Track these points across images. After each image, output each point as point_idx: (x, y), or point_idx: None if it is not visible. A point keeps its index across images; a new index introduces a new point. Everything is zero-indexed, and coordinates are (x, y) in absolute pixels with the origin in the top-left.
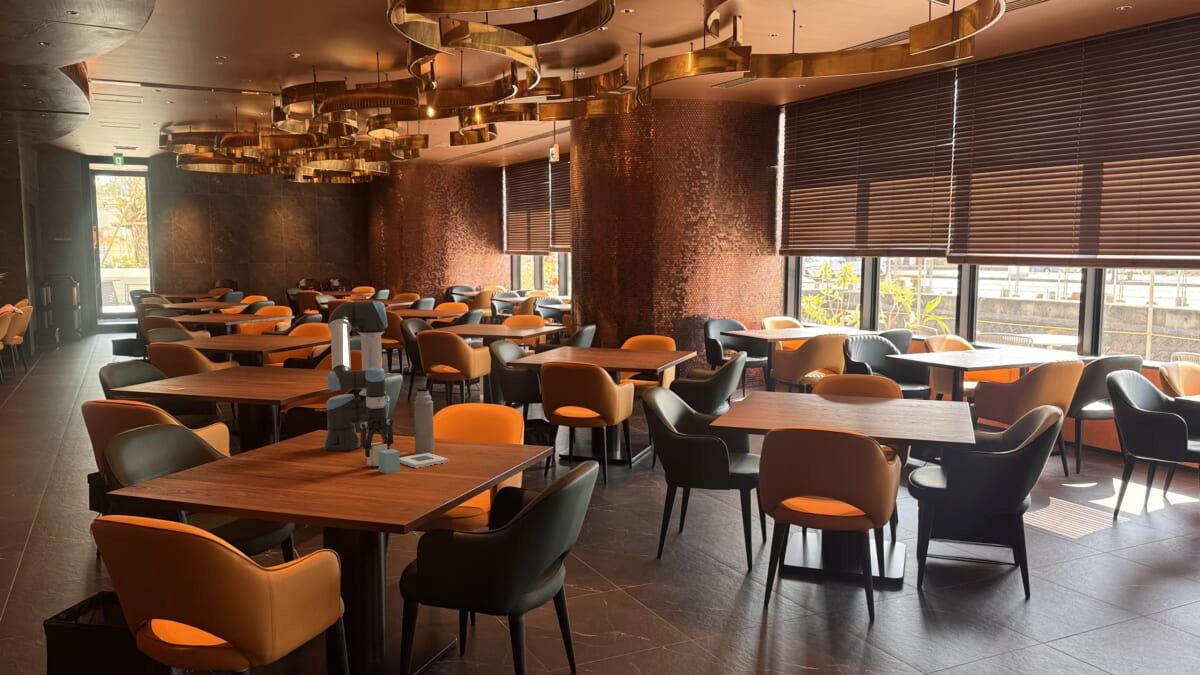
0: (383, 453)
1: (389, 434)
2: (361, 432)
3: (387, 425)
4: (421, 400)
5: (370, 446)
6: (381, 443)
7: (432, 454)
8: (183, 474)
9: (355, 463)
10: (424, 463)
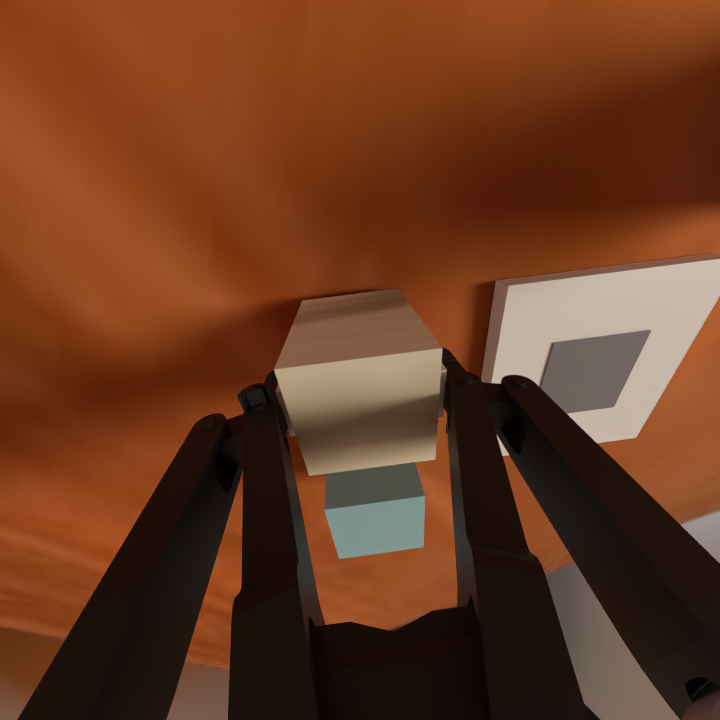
0: (335, 542)
1: (545, 496)
2: (95, 638)
3: (696, 657)
4: None
5: (297, 433)
6: (420, 407)
7: (700, 317)
8: None
9: (246, 145)
10: None
